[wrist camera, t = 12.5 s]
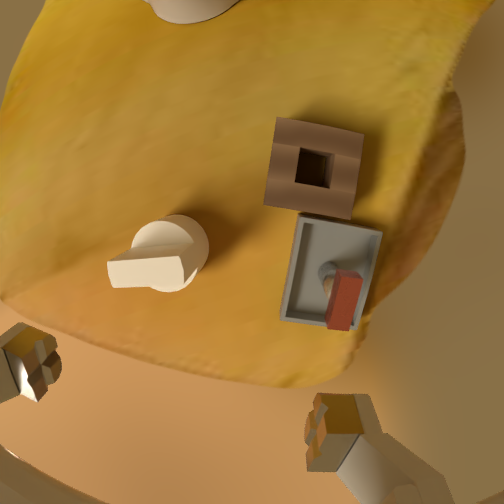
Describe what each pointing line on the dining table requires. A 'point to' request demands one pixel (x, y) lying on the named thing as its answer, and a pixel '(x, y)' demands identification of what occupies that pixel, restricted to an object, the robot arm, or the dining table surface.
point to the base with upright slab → (162, 255)
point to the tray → (318, 252)
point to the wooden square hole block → (335, 174)
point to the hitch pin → (340, 294)
